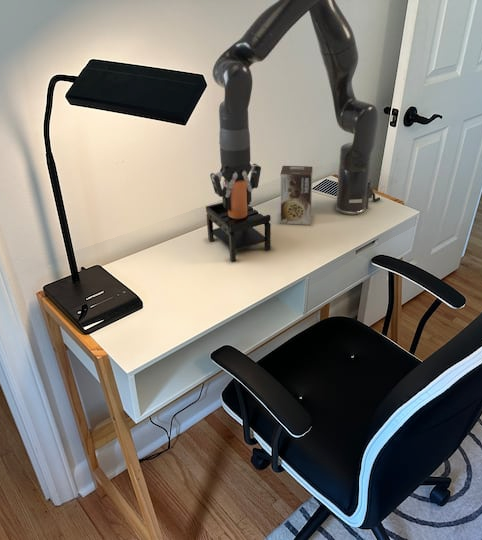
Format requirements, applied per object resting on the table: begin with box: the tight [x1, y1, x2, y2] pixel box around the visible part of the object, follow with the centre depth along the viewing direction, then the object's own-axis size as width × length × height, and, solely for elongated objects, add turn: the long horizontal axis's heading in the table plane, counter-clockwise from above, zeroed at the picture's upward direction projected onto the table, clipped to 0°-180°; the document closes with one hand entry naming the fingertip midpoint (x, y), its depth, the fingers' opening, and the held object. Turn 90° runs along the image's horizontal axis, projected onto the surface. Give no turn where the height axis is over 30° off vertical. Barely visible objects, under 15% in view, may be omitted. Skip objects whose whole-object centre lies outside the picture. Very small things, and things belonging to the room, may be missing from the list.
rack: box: [205, 201, 272, 263], centre depth 140 cm, size 12×14×10 cm
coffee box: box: [279, 165, 313, 226], centre depth 151 cm, size 9×6×16 cm
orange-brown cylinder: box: [226, 180, 248, 219], centre depth 135 cm, size 5×5×10 cm
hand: (237, 206), depth 136 cm, fingers closed on orange-brown cylinder, 5 cm apart
